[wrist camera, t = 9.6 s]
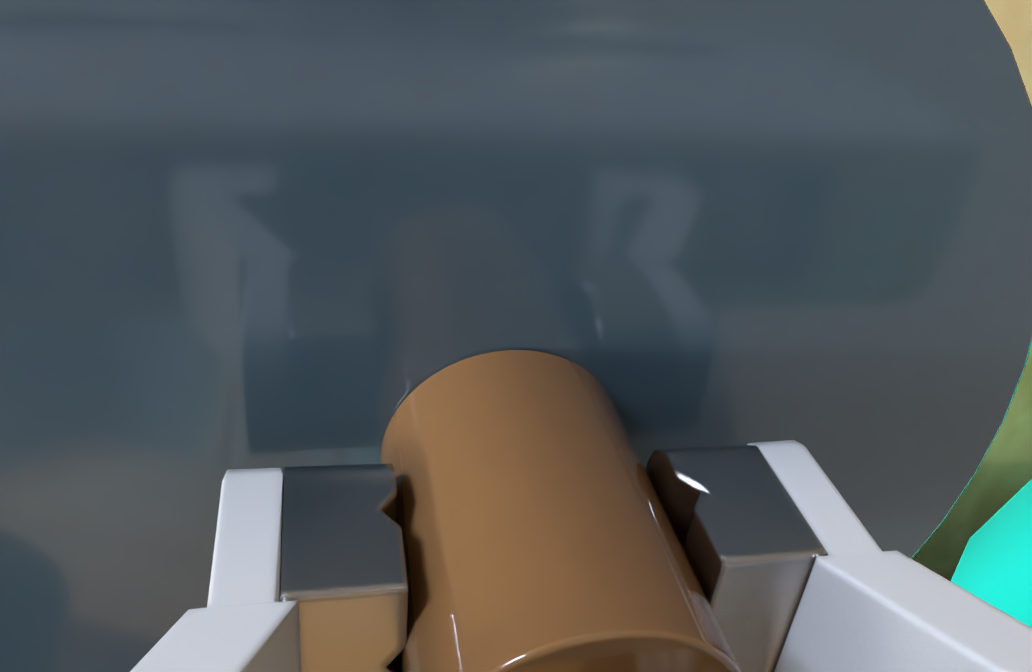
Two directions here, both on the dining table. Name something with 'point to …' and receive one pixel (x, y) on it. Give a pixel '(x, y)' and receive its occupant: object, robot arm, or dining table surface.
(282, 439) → the lid
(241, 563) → the robot arm
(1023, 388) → the dining table surface
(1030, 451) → the dining table surface
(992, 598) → the table top decor
